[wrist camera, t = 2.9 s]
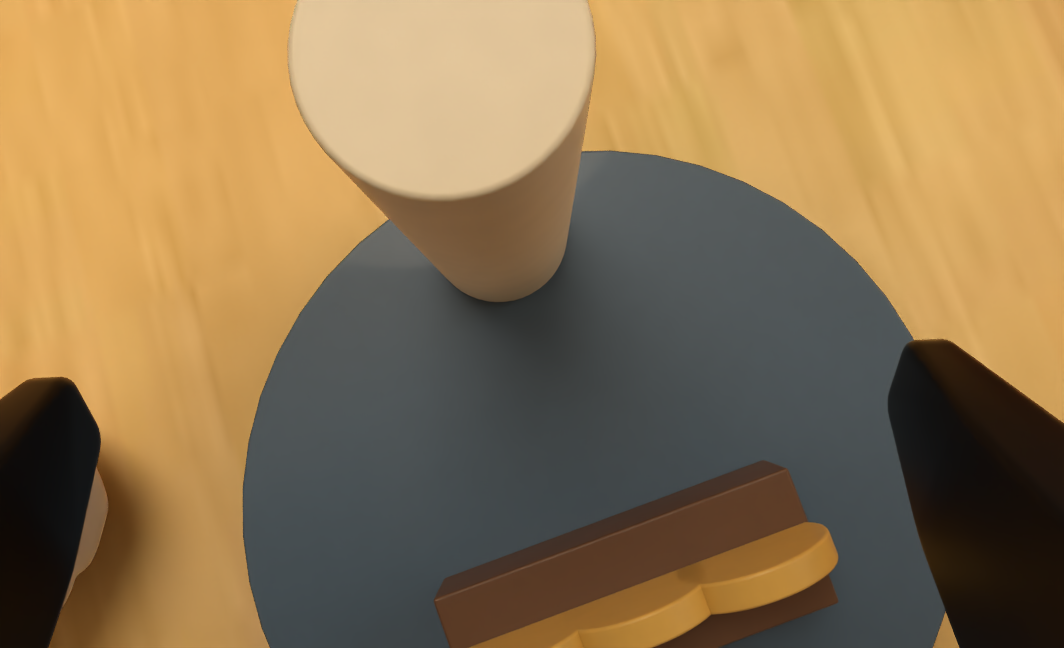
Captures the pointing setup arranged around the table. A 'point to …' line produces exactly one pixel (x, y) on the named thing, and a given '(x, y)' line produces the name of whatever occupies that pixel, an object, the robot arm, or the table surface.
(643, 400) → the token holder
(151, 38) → the table surface
